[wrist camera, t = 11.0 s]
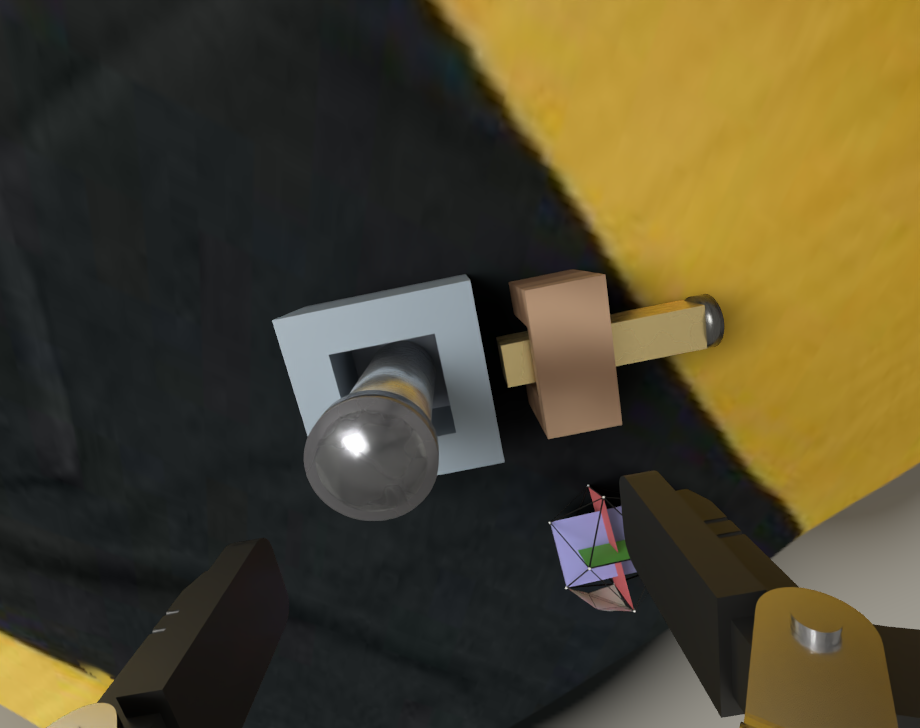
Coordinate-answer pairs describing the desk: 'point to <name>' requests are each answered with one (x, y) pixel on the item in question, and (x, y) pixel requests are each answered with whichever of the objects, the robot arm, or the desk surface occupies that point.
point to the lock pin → (633, 336)
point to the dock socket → (388, 320)
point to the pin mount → (569, 351)
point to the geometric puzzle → (595, 553)
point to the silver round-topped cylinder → (378, 438)
